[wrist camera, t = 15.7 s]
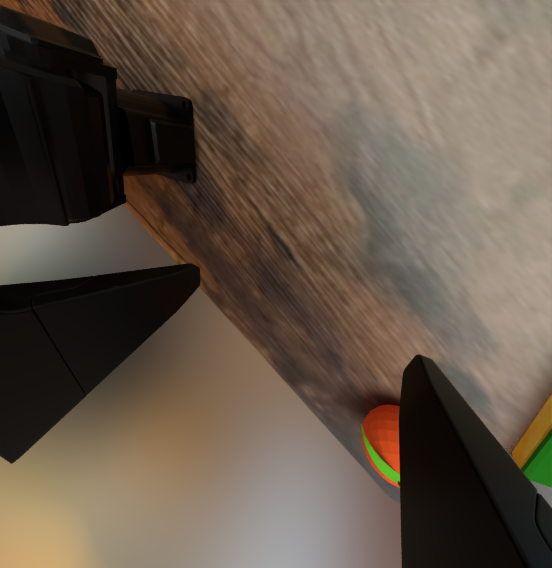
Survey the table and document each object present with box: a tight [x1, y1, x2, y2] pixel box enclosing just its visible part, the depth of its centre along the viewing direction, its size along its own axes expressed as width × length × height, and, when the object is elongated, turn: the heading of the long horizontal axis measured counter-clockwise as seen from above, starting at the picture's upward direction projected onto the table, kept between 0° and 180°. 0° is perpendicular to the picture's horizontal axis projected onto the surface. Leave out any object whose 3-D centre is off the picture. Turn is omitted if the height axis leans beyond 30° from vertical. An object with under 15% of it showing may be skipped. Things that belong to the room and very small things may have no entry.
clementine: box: [361, 405, 400, 488], centre depth 22 cm, size 8×7×7 cm
